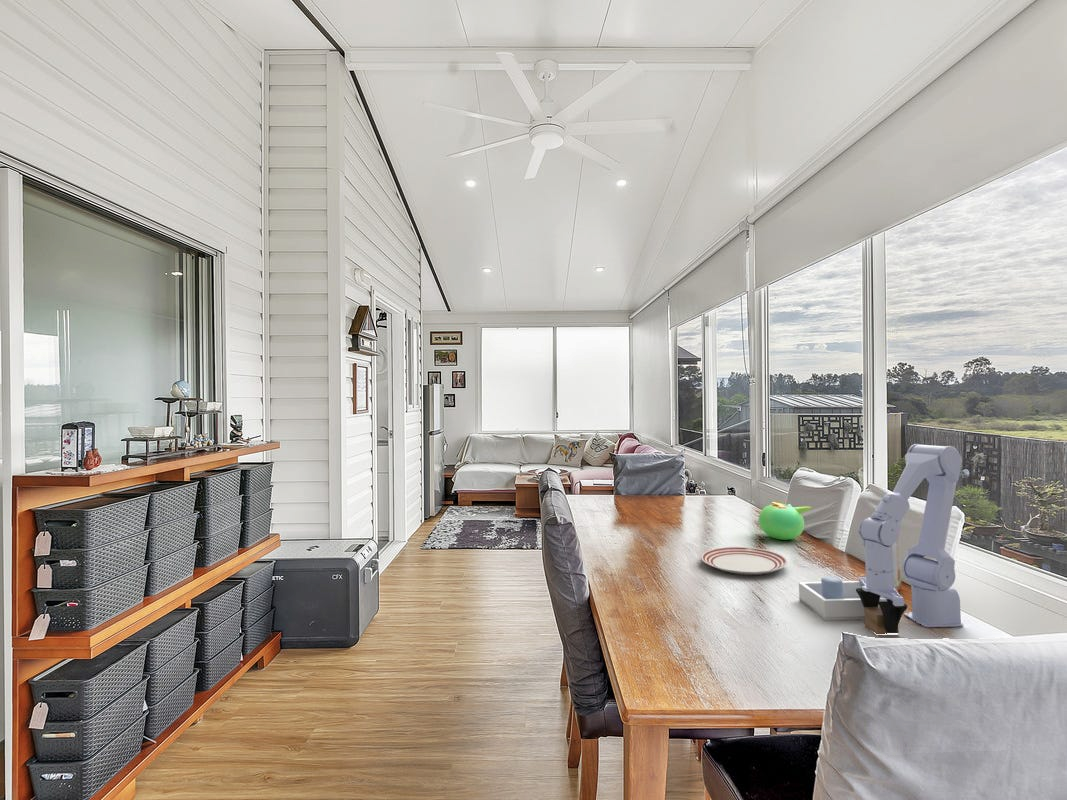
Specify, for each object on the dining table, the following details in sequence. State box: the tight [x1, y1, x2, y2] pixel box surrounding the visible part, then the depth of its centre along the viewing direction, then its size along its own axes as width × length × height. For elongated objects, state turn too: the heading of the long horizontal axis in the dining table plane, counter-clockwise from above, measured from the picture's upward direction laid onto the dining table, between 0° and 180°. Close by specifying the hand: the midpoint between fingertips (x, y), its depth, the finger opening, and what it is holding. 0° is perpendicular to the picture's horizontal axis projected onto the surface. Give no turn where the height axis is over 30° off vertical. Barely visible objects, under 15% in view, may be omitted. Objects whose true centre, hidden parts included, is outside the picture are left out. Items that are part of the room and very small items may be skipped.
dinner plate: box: [700, 546, 788, 576], centre depth 185 cm, size 28×27×3 cm
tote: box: [798, 580, 887, 621], centre depth 146 cm, size 18×14×5 cm
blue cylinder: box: [820, 576, 843, 599], centre depth 146 cm, size 5×5×7 cm
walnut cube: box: [864, 607, 900, 635], centre depth 132 cm, size 5×5×5 cm
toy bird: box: [758, 501, 812, 541], centre depth 218 cm, size 18×17×15 cm
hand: (881, 625), depth 132 cm, fingers open, 7 cm apart
